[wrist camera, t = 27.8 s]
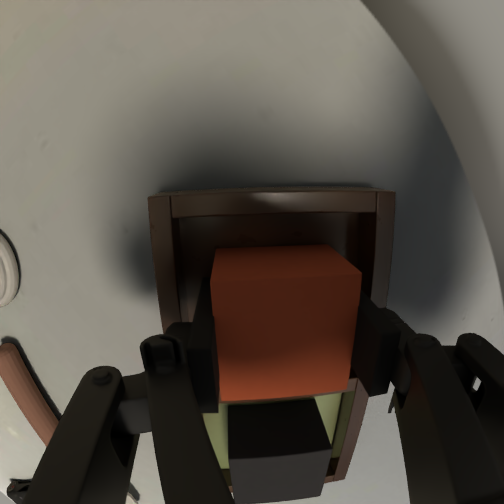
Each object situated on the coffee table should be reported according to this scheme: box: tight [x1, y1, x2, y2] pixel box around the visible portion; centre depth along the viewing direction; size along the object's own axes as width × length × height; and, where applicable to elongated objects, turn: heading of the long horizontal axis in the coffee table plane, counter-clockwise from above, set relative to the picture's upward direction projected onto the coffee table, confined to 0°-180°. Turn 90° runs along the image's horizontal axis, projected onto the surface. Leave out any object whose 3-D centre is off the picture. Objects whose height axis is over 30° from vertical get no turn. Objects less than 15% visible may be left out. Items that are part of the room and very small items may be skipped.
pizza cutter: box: [0, 343, 138, 504], centre depth 18 cm, size 20×6×3 cm, turn 13°
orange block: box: [210, 244, 362, 401], centre depth 14 cm, size 6×6×4 cm
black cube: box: [228, 399, 332, 504], centre depth 17 cm, size 6×6×4 cm
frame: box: [148, 187, 395, 492], centre depth 17 cm, size 11×21×3 cm, turn 1°
